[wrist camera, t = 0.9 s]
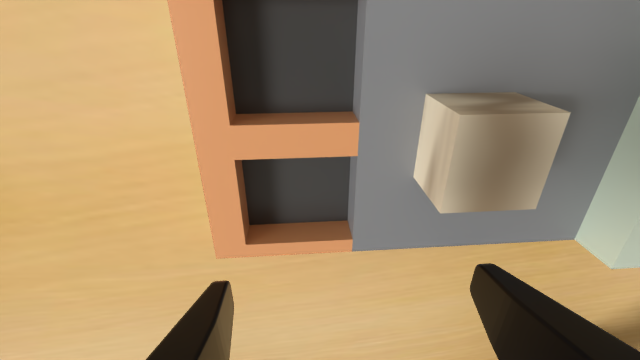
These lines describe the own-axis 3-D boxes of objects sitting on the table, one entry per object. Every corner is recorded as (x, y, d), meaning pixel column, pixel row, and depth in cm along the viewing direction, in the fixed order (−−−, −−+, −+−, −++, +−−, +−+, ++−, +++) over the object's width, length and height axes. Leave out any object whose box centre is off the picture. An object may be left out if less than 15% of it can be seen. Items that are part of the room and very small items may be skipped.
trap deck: (694, -21, 18) (841, -33, 13) (585, 217, 26) (654, 266, 21) (179, -25, 16) (131, -40, 11) (223, 235, 24) (205, 293, 19)
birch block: (514, 92, 18) (570, 112, 14) (492, 174, 20) (535, 209, 17) (425, 93, 17) (460, 115, 14) (413, 177, 20) (440, 213, 16)
